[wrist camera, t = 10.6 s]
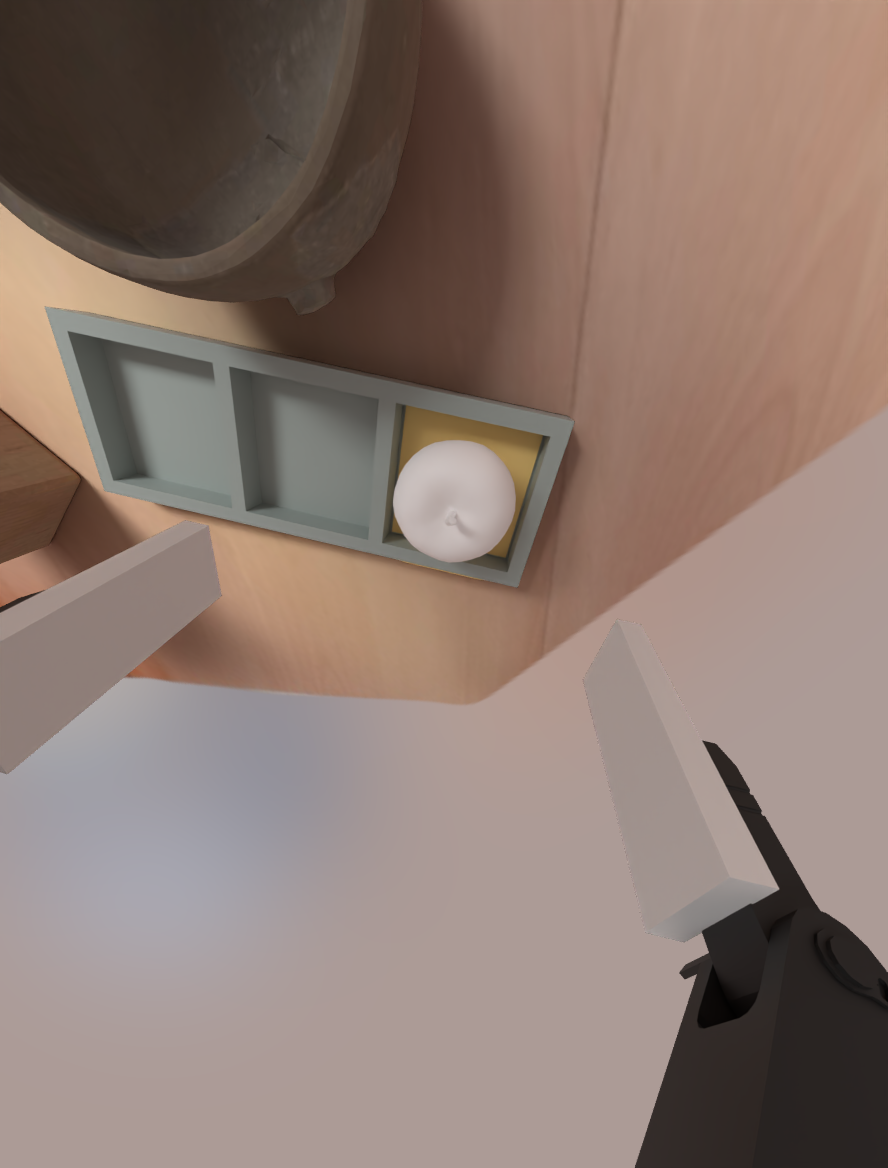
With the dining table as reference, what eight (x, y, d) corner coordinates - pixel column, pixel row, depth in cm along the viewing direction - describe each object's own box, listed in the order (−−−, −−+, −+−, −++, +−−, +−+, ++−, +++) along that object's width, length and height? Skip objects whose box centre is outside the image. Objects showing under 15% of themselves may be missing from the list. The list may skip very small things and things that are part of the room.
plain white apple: (536, 491, 24) (548, 540, 17) (456, 552, 27) (439, 614, 20) (467, 402, 22) (449, 418, 15) (389, 479, 25) (344, 522, 18)
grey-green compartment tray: (88, 312, 23) (44, 306, 21) (568, 416, 22) (574, 421, 20) (136, 484, 29) (105, 493, 27) (516, 572, 28) (516, 590, 26)
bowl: (420, 346, 21) (363, 331, 13) (137, 289, 22) (-94, 240, 14) (488, -254, 12) (446, -1626, 4) (3, -318, 13) (-940, -1600, 5)
